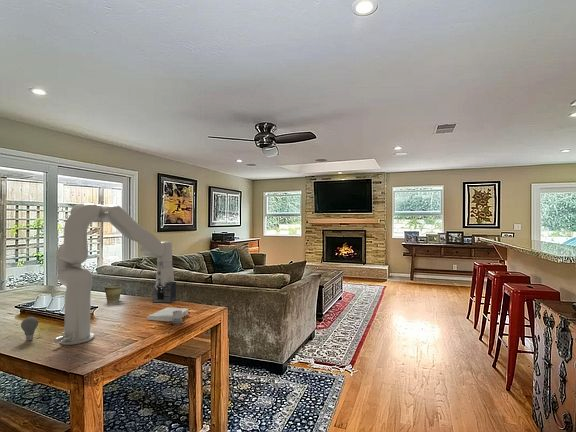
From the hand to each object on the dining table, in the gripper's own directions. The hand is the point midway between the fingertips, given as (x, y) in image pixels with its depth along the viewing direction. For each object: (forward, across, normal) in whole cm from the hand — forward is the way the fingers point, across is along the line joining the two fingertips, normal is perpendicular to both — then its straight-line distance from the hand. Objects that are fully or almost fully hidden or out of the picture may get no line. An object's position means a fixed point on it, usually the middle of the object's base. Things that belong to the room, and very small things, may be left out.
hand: (164, 297), depth 175 cm
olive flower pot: (+11, +25, +53) cm, 60 cm away
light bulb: (+11, -42, +38) cm, 58 cm away
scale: (+11, +4, -1) cm, 12 cm away
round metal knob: (+11, -7, -12) cm, 18 cm away
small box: (+3, 0, 0) cm, 3 cm away
